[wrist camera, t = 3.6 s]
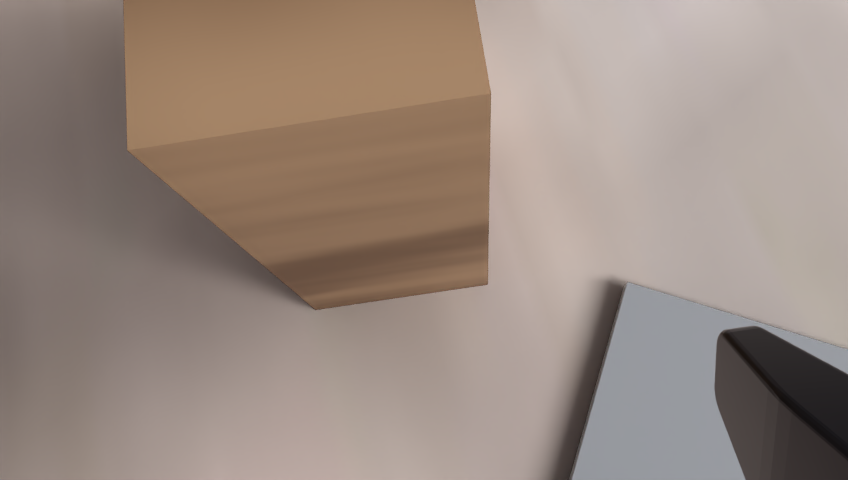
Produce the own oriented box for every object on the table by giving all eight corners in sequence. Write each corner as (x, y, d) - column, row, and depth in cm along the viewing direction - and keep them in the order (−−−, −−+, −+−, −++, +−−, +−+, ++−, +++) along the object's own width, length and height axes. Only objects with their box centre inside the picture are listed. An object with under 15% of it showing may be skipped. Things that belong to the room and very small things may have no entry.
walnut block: (487, 284, 22) (490, 93, 10) (315, 309, 22) (126, 149, 10) (461, 125, 23) (439, -202, 12) (300, 150, 23) (119, -147, 12)
